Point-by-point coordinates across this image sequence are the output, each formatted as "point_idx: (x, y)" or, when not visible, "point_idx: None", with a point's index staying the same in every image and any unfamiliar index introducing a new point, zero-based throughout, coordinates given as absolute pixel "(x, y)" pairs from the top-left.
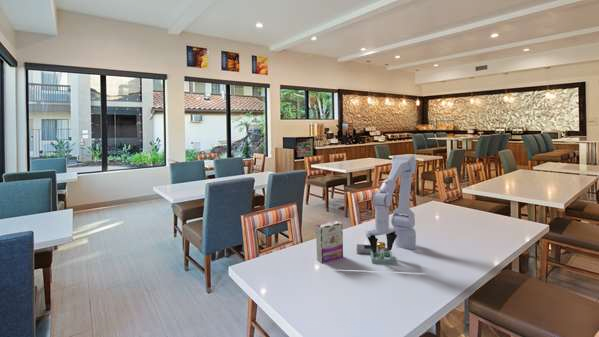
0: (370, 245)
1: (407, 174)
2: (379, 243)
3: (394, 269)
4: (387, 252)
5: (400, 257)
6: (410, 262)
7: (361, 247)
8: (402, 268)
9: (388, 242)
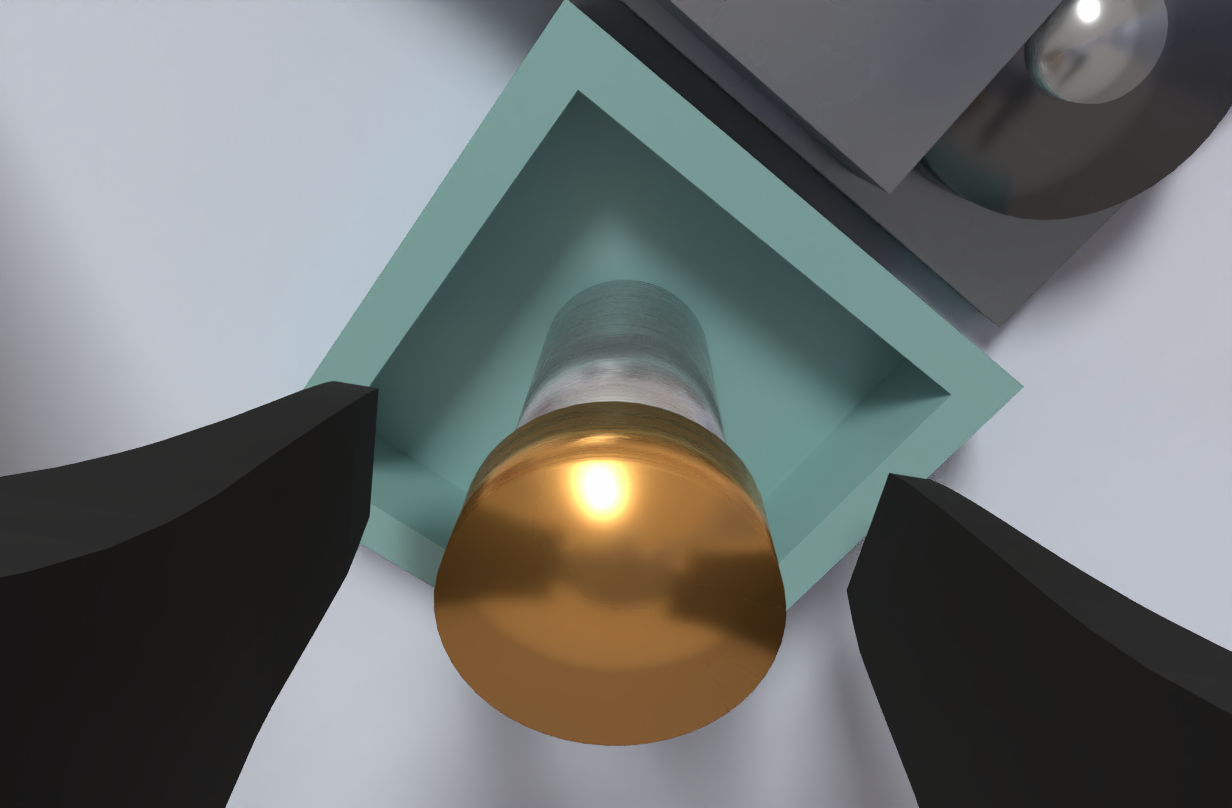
0: None
1: None
2: (567, 584)
3: (545, 742)
4: (911, 358)
5: (1088, 466)
6: None
7: None
8: (688, 775)
9: (973, 656)
